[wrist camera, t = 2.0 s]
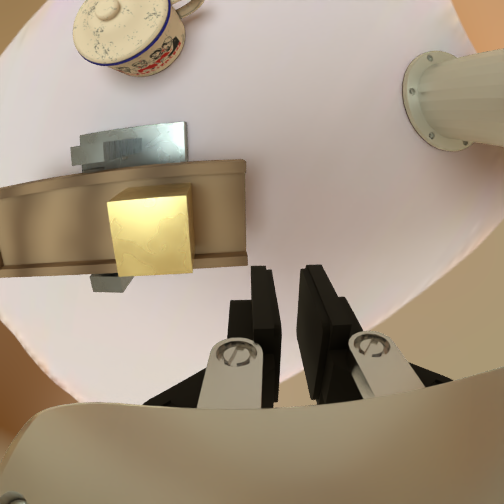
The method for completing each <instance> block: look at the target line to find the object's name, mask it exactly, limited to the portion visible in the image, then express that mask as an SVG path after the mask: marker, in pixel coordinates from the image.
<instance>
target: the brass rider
mask: <svg viewBox="0 0 504 504" xmlns="http://www.w3.org/2000/svg"><path fill="white" fill-rule="evenodd" d="M107 207H108V215H109V222H110V229H111V236H112V242H113V248H114V254H115V260H116V265H117V271H118V276H119V277H124V276H144V275H164V274H182V273H193V264H194V255H195V233H194V219H193V203H192V186H191V183H179V184H165V185H153V186H142V187H131V188H126V189H125V190H123V191H122V192H120V193H119V194H118V195H116V196H115V197H113V198H112V199H111V200H109V201H108V202H107Z"/></svg>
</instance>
